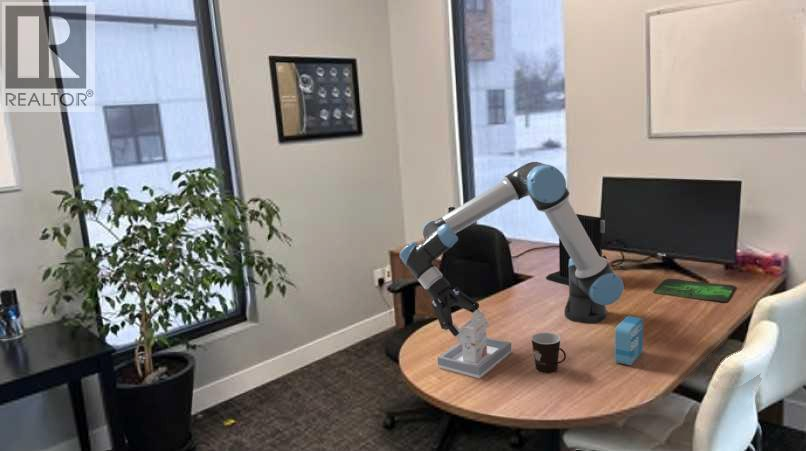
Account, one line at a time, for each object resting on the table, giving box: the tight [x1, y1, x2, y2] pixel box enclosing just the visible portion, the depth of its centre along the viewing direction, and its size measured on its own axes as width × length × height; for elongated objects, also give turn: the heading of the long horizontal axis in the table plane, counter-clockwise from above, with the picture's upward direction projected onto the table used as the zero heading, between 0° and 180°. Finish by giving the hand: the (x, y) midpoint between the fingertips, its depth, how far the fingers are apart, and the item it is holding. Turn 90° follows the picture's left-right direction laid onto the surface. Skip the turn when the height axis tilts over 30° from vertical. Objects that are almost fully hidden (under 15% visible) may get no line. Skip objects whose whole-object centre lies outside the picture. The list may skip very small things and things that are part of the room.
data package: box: [614, 315, 644, 366], centre depth 177 cm, size 12×4×12 cm, turn 140°
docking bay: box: [437, 336, 513, 379], centre depth 185 cm, size 15×21×4 cm
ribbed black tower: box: [545, 213, 625, 286], centre depth 251 cm, size 30×19×30 cm, turn 34°
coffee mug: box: [530, 332, 567, 374], centre depth 173 cm, size 12×9×10 cm
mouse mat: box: [652, 278, 737, 304], centre depth 233 cm, size 27×22×1 cm
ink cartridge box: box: [460, 311, 487, 363], centre depth 183 cm, size 9×5×15 cm, turn 147°
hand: (476, 334), depth 182 cm, fingers open, 13 cm apart
